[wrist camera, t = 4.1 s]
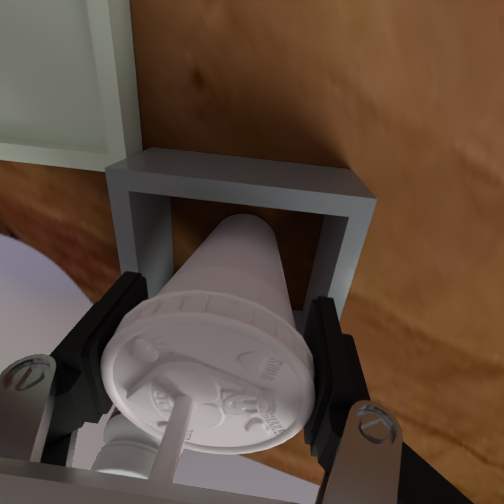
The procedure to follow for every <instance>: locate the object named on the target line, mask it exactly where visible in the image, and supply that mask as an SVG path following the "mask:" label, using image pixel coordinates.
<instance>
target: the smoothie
mask: <svg viewBox="0 0 504 504" xmlns="http://www.w3.org/2000/svg"><path fill="white" fill-rule="evenodd" d="M100 372H101V378H102V381H103V384H104V388H105V390H106V392H107V394H108V396H109V397H110V399H111V401H112V402H113V404H114V405H115V406H116V407H117V408H118V410H119V411H120V412H121V413H122V414H123V415H124V416H125V417H126V418H127V419H129V420H130V421H131V422H132V423H134V424H135V425H136V426H137V427H139V428H141V429H142V430H144V431H146V432H147V433H149V434H151V435H152V436H155V437H157V438H159V439H161V443H160V446H159V449H158V452H157V455H156V458H155V460H154V463H153V466H152V469H151V472H150V475H149V478H148V479H149V480H156V481H162V482H168V483H172V481H173V478H174V474H175V471H176V468H177V464H178V460H179V457H180V453H181V450H182V448H186V449H190V450H195V451H199V452H206V453H214V454H243V453H252V452H257V451H261V450H266V449H269V448H271V447H274V446H277V445H279V444H282V443H283V442H285V441H287V440H288V439H290V438H291V437H293V436H295V435H296V434H297V433H298V432H299V431H300V430H301V429H302V428H303V427H304V426H305V425H306V423H307V422H308V420H309V419H310V417H311V415H312V412H313V409H314V404H315V388H314V377H315V369H314V361H313V356H312V354H311V352H310V350H309V348H308V346H307V344H306V342H305V341H304V339H303V337H302V335H301V334H300V333H299V332H298V331H297V330H296V326H295V321H294V317H293V313H292V309H291V304H290V300H289V295H288V291H287V286H286V282H285V277H284V273H283V268H282V263H281V259H280V254H279V250H278V245H277V241H276V237H275V234H274V231H273V230H272V228H271V227H270V226H269V224H268V223H267V222H265V221H264V220H263V219H261V218H259V217H257V216H255V215H251V214H243V213H242V214H235V215H231V216H229V217H227V218H225V219H224V220H222V221H221V222H220V223H219V224H218V226H217V227H216V228H215V229H214V230H213V231H212V232H211V234H210V235H209V236H208V237H207V238H206V239H205V240H204V242H203V243H202V244H201V245H200V246H199V247H198V248H197V250H196V251H195V252H194V253H193V254H192V255H191V256H190V258H189V259H188V260H187V261H186V262H185V263H184V264H183V266H182V267H181V268H180V269H179V270H178V271H177V272H176V274H175V275H174V276H173V277H172V278H171V279H170V280H169V282H168V283H167V284H166V285H165V286H164V287H163V288H162V289H161V290H160V292H159V293H158V294H157V295H156V296H155V297H153V298H150V299H147V300H144V301H142V302H141V303H140V304H139V305H137V306H136V307H135V308H133V309H132V310H131V311H130V312H128V313H127V314H126V315H125V316H124V318H123V319H122V321H121V323H120V324H119V326H118V328H117V329H116V331H115V334H114V336H113V337H112V338H111V340H110V341H109V342H108V344H107V346H106V347H105V349H104V352H103V354H102V358H101V363H100Z"/></svg>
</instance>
